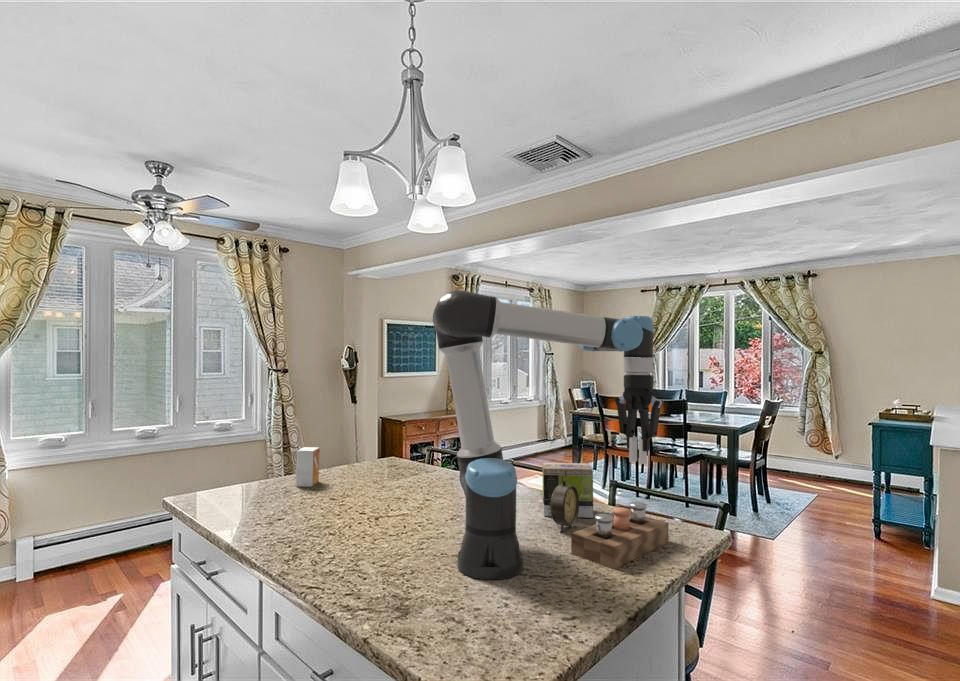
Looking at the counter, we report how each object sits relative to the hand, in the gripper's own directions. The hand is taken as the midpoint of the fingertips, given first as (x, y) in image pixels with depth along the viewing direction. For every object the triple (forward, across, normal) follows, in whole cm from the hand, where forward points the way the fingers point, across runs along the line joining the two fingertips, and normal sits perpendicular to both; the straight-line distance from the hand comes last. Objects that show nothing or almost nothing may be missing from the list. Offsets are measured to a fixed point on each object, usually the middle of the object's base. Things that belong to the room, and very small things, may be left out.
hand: (638, 462), depth 136 cm
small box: (+21, +112, +40) cm, 121 cm away
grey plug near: (+16, 0, +16) cm, 23 cm away
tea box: (+21, +27, -5) cm, 34 cm away
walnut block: (+20, 0, +8) cm, 22 cm away
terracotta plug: (+16, 0, +8) cm, 18 cm away
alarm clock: (+21, +19, +7) cm, 29 cm away
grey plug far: (+16, 0, 0) cm, 16 cm away
